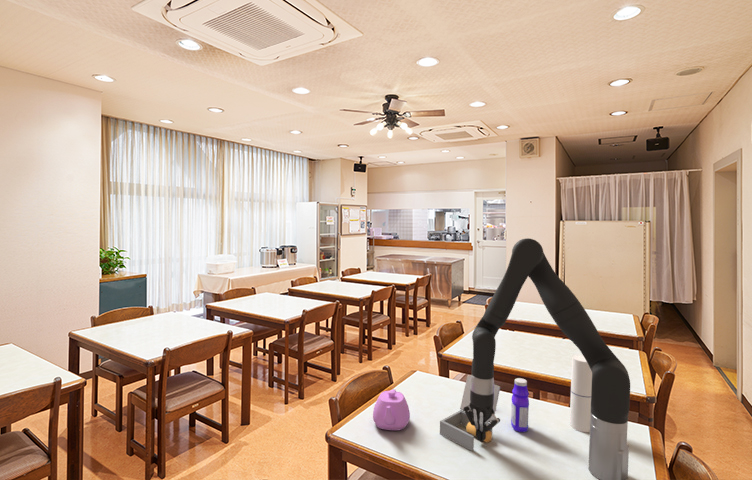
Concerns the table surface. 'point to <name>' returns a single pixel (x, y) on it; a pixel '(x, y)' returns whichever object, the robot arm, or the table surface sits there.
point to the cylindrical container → (580, 394)
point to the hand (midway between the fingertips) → (480, 440)
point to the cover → (467, 395)
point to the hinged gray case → (457, 429)
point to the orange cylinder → (472, 430)
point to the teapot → (391, 411)
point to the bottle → (520, 406)
